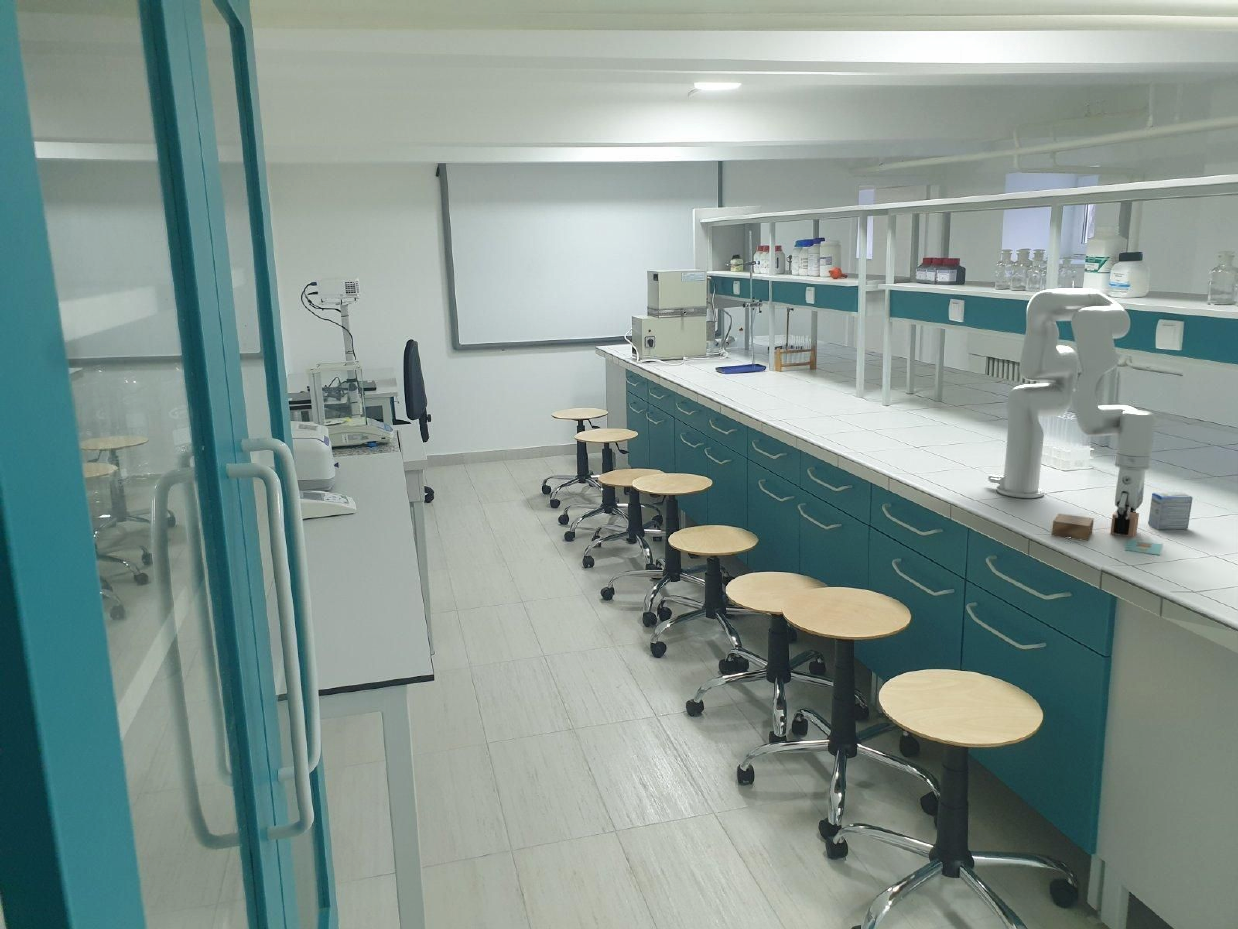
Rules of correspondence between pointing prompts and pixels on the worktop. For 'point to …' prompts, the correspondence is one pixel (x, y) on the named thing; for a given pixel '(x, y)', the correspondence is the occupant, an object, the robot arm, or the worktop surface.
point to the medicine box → (1170, 510)
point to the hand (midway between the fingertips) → (1123, 529)
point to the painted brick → (1132, 525)
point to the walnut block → (1072, 526)
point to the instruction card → (1143, 547)
